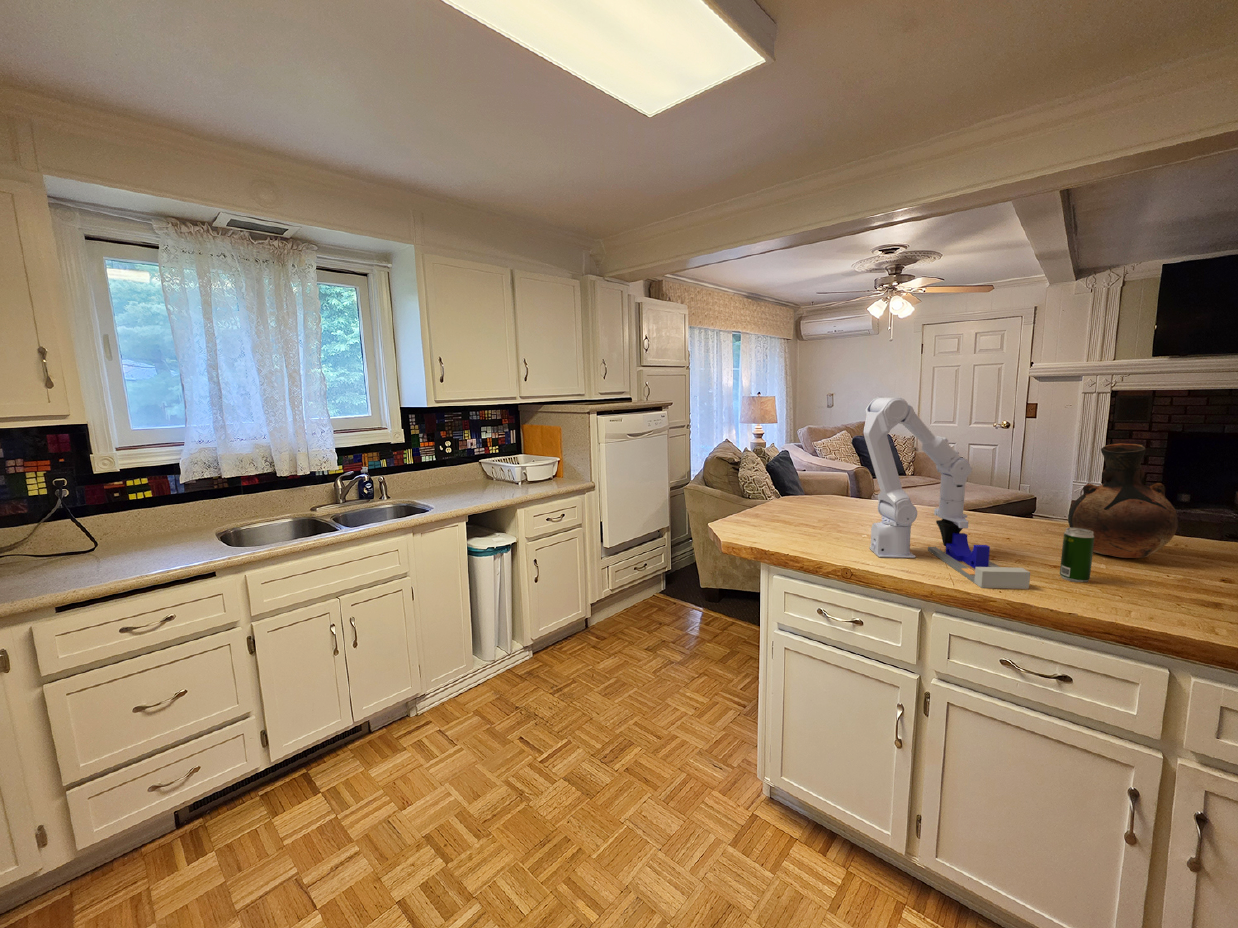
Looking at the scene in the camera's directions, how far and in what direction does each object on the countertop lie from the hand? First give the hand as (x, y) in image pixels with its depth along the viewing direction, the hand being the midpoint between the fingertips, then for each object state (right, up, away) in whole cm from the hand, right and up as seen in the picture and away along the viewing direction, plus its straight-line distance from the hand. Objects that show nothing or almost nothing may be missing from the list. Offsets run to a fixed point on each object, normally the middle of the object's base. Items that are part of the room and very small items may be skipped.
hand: (948, 546), depth 142 cm
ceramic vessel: (+40, -2, -7) cm, 41 cm away
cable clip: (0, -3, -8) cm, 8 cm away
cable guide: (-2, -4, -12) cm, 13 cm away
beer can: (+16, -5, -21) cm, 27 cm away
